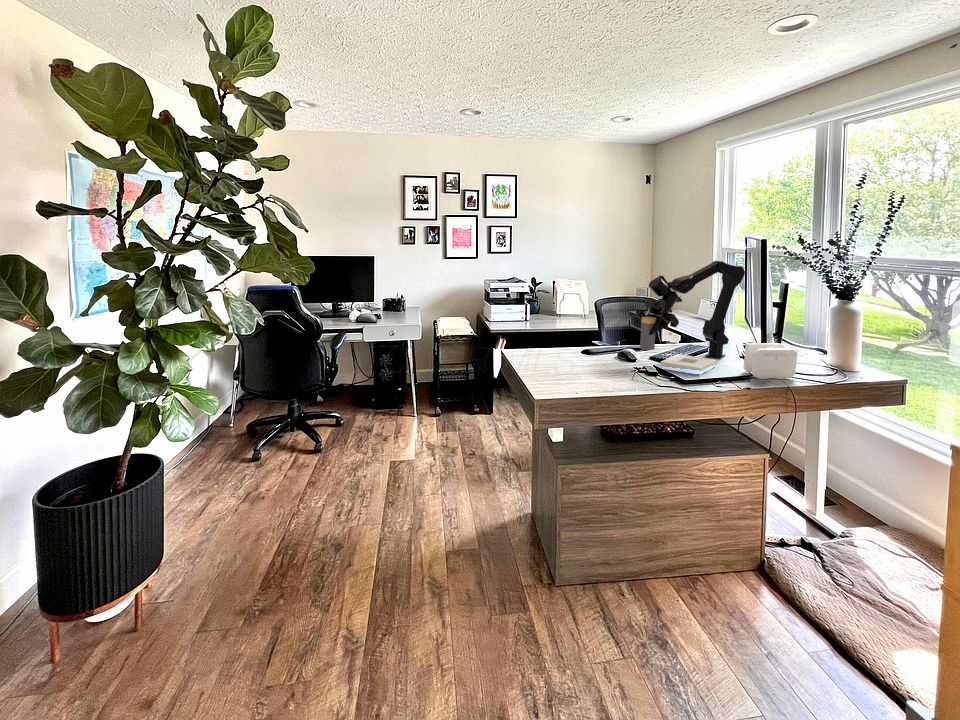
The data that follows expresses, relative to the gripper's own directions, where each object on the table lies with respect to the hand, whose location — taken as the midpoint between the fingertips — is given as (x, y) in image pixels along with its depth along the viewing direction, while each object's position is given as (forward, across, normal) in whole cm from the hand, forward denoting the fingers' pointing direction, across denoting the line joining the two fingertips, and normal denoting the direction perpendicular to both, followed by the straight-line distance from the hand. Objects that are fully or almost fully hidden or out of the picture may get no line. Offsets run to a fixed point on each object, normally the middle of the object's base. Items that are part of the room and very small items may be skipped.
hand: (645, 333), depth 227 cm
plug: (+4, 0, +6) cm, 7 cm away
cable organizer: (-9, +37, +28) cm, 48 cm away
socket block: (+1, +13, +18) cm, 22 cm away
